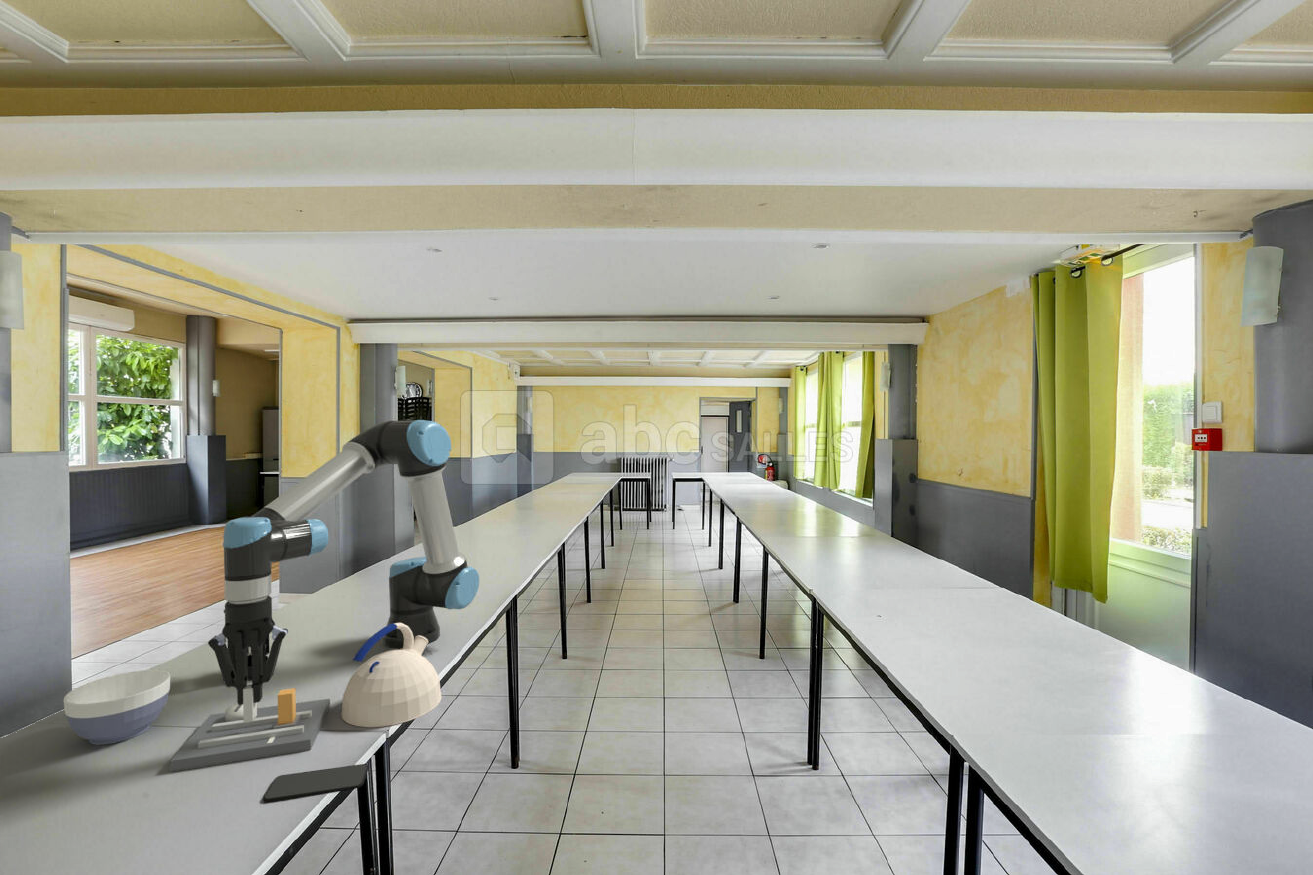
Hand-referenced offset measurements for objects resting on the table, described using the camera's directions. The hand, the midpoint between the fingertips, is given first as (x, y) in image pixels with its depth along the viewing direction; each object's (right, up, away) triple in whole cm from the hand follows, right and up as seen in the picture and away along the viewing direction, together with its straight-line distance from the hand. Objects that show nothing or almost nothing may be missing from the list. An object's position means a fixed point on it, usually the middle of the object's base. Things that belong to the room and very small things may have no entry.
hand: (250, 718), depth 115 cm
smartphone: (+21, -5, -13) cm, 25 cm away
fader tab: (+6, -3, +2) cm, 7 cm away
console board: (0, -5, +2) cm, 5 cm away
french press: (-23, -5, +33) cm, 40 cm away
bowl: (-29, -5, +4) cm, 30 cm away
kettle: (+21, -5, +16) cm, 26 cm away
